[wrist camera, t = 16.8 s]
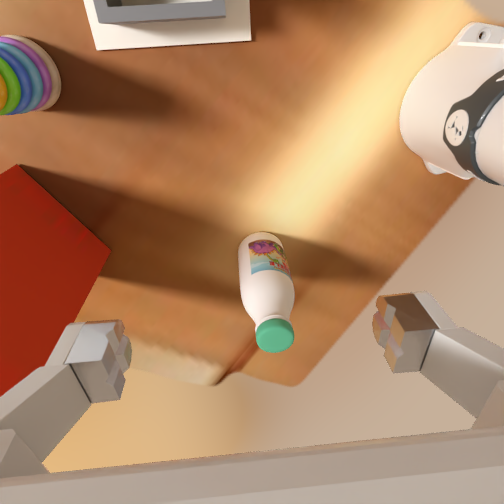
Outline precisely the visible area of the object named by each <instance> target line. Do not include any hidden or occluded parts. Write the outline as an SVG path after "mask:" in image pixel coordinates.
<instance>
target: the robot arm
mask: <svg viewBox="0 0 504 504" xmlns="http://www.w3.org/2000/svg"><path fill="white" fill-rule="evenodd" d="M481 32H482V37H481V38H480V39H479V35H480V33H481ZM400 131H401V134H402V137H403V140H404V142H405V143H406V145H407V146H408V147H409V148H410V149H411V150H412V151H413V152H414V153H416V154H417V155H419V156H420V157H421V158H422V159H423V161H424V163H425V166H426V168H427V169H428V171H429V172H431V173H433V174H441V173H445V172H449V173H451V174H453V175H455V176H458V177H460V178H462V179H470V178H472V177H476V178H478V179H480V180H483V181H486V182H488V183H492V184H495V185H502V186H504V27H501V26H496V25H490V24H485V23H480V22H470V23H468V24H467V25H466V26H465V27H464V28H463V29H462V30H461V31H460V32H459V33H458V35H457V36H456V37H455V39H454V40H453V41H452V43H451V44H450V45H449V46H448V47H447V48H446V49H445V50H444V51H442V52H441V53H440V54H438V55H437V56H435V57H434V58H433V59H432V60H430V61H429V62H428V63H427V64H426V65H425V66H424V67H423V68H422V69H421V70H420V71H419V73H418V74H417V75H416V76H415V78H414V79H413V81H412V82H411V84H410V86H409V88H408V89H407V92H406V94H405V96H404V99H403V102H402V105H401V110H400ZM376 306H377V308H378V310H379V311H378V312H376V313H375V314H374V316H373V322H372V325H373V332H374V336H375V339H376V341H377V343H378V344H379V345H380V346H382V347H383V348H385V353H384V357H385V359H386V361H387V363H388V364H389V367H390V369H391V371H392V372H393V373H402V372H417V371H420V373H422V374H423V375H424V376H425V377H426V378H427V379H429V380H430V381H431V382H432V383H434V384H435V385H436V386H437V387H439V388H440V389H441V390H442V391H443V392H445V393H446V394H447V395H448V396H449V397H451V398H452V399H453V400H454V401H456V402H457V403H458V404H459V405H461V406H462V407H463V408H464V409H465V410H467V411H468V412H469V413H470V414H472V415H473V416H474V417H475V418H477V419H476V421H475V422H474V424H473V426H472V428H471V429H468V430H459V431H449V432H440V433H431V434H420V435H411V436H401V437H391V438H382V439H372V440H363V441H353V442H344V443H334V444H324V445H315V446H306V447H296V448H287V449H276V450H267V451H259V452H248V453H238V454H229V455H220V456H210V457H200V458H191V459H181V460H171V461H162V462H152V463H144V464H133V465H123V466H114V467H104V468H95V469H85V470H76V471H66V472H57V473H50V472H49V471H48V470H47V468H46V467H45V466H44V465H43V464H42V462H43V461H44V460H45V458H46V457H47V456H48V455H49V454H50V453H51V451H52V450H53V449H54V448H55V447H56V446H57V444H58V443H59V442H60V441H61V440H62V439H63V438H64V436H65V435H66V434H67V433H68V432H69V431H70V429H71V428H72V427H73V426H74V425H75V423H76V422H77V421H78V420H79V419H80V418H81V417H82V415H83V414H84V413H85V412H86V411H87V410H88V408H89V407H90V406H91V403H98V402H106V401H114V400H120V398H121V394H122V391H123V387H124V383H125V378H124V375H123V373H124V372H125V371H126V370H127V369H128V368H129V366H130V362H131V354H132V349H131V343H130V340H129V338H128V337H127V336H125V335H124V334H123V332H124V329H125V327H124V325H123V322H122V320H119V319H117V320H102V321H87V322H78V323H70V324H69V325H67V326H66V328H65V329H64V331H63V333H62V335H61V337H60V339H59V341H58V342H57V344H56V346H55V348H54V350H53V352H52V353H51V355H50V357H49V359H48V361H47V363H46V364H45V366H44V367H39V368H37V369H36V370H35V371H33V372H32V373H31V374H30V375H28V376H27V377H26V378H24V379H23V380H22V381H20V382H19V383H18V384H17V385H15V386H14V387H13V388H11V389H10V390H9V391H7V392H6V393H5V394H4V395H2V396H1V397H0V504H504V348H502V347H500V346H498V345H496V344H494V343H492V342H490V341H488V340H487V339H485V338H483V337H481V336H479V335H477V334H475V333H473V332H471V331H469V330H467V329H465V328H464V327H460V328H458V327H457V326H456V324H455V323H454V322H453V321H452V319H451V318H450V317H449V316H448V315H447V313H446V312H445V311H444V310H443V308H442V307H441V306H440V305H439V303H438V302H437V301H436V300H435V299H434V297H433V296H432V295H431V294H430V293H429V292H427V291H420V292H411V293H402V294H392V295H382V296H379V297H378V298H377V302H376Z"/></svg>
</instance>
